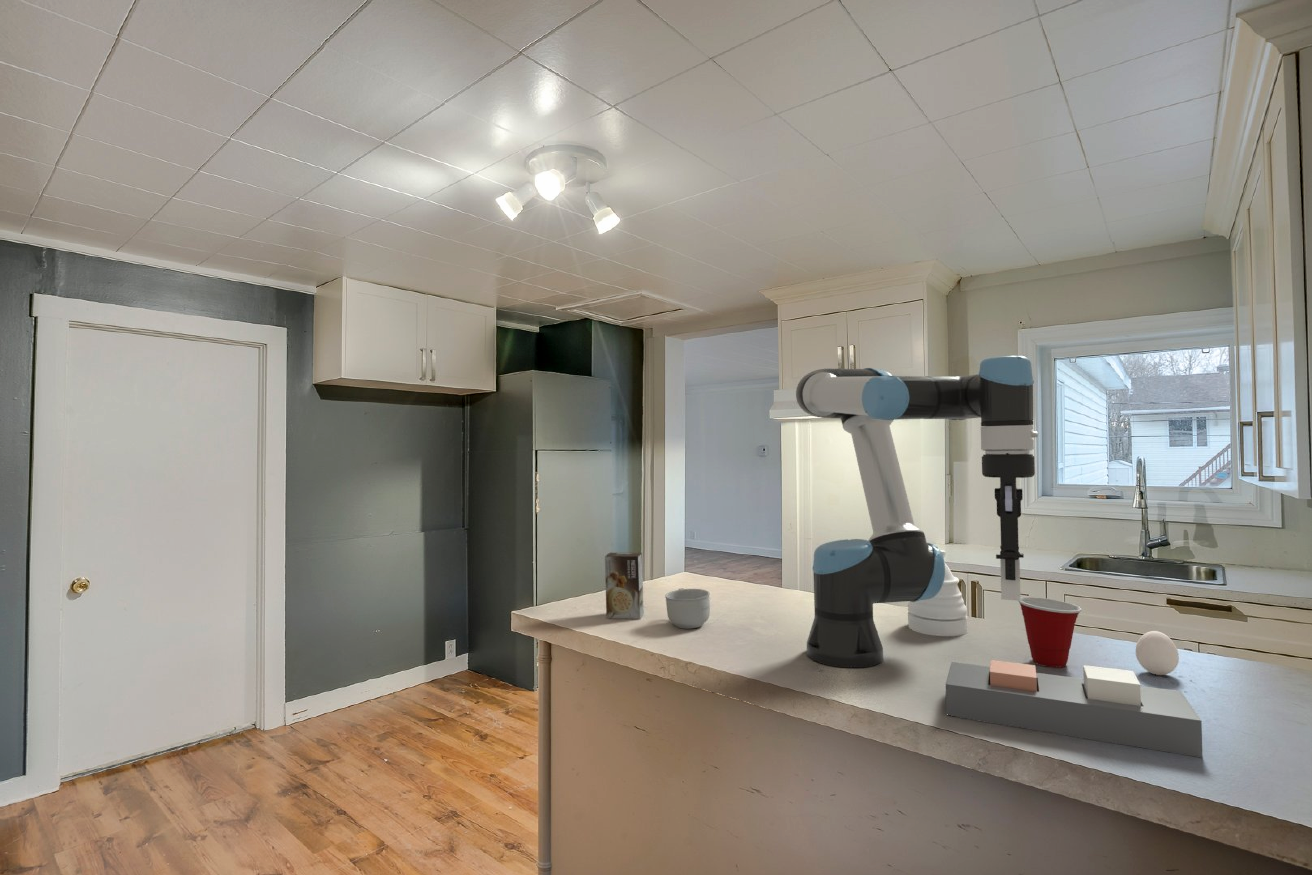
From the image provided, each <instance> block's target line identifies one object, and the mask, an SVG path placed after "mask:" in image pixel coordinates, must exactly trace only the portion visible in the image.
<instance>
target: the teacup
mask: <svg viewBox="0 0 1312 875" xmlns="http://www.w3.org/2000/svg"><path fill="white" fill-rule="evenodd" d="M710 595H711V594H710V592H709V591H708V590H706V589H701V588H682V587H680V588H678V589H676V590H672V591H669V592H667V593H666V594H665V595H664V596H665V603H666V604H665V605H666V612H667V613H666V614H667V618H668V620H669V622H670V623H671V624H672V625H674V626H675V627H677V628H678V629H685V630H687V629H689V630H690V629H696V628H700V627H702V626H703V625H704V624H705V623H706V622H707V621H708V620H709V618H710V614H711V611H710V610H711V604H710Z"/></svg>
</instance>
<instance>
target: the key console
mask: <svg viewBox="0 0 1312 875" xmlns="http://www.w3.org/2000/svg"><path fill="white" fill-rule="evenodd" d="M1036 677H1037V692H1036V691H1029V690H1022V689H1015V688H1008V687H1001V686H993V685H990V666H987V665H980V664H972V663H964V662H957V661H955V662H954V661H951V662H950V665H949V670H948V673H947V676H946V681H945V710H946V711H945V713H946V714H948V715H951V716H950V717H952V716H956V717H955V718H958V717H959V718H960V719H964V718H967V719H966V720H971V719H972V720H971V721H977V720H980V721H979V722H983V721H985V722H984V723H989V724H995V723H997V724H996V725H1001V724H1002V725H1001V726H1007V725H1008V727H1013V728H1019V727H1021V728H1020V729H1025V728H1026V729H1027V730H1033V731H1039V732H1044V731H1046V732H1045V733H1050V732H1053V733H1052V734H1056V733H1057V735H1063V736H1068V737H1076V738H1083V739H1087V740H1092V741H1093V740H1094V741H1098V742H1099V741H1100V742H1104V743H1105V742H1106V743H1111V744H1116V745H1123V746H1128V747H1129V746H1130V747H1134V748H1141V749H1148V750H1153V751H1154V750H1155V751H1160V752H1165V753H1166V752H1167V753H1173V754H1177V755H1179V754H1180V755H1183V756H1190V757H1197V758H1203V756H1204V755H1203V730H1202V729H1203V727H1202V726H1203V724H1202V719H1201V717H1200V716H1199V715H1198V713H1197V712H1196V711H1195V709H1194V708H1193V707H1192V704H1191V703H1190V701H1188V698H1187V697H1186V696H1185V695H1184V694H1183V692H1182V691H1181V690H1175V689H1167V688H1159V687H1158V688H1157V687H1150V686H1144V685H1143V686H1142V685H1140V692H1141V706H1136V705H1129V704H1122V703H1115V702H1108V701H1101V700H1093V699H1086V696H1085V692H1084V678H1082V677H1081V678H1080V677H1072V676H1066V675H1065V676H1064V675H1057V674H1050V673H1043V672H1042V673H1041V672H1036ZM946 714H945V715H946Z"/></svg>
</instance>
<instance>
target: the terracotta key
mask: <svg viewBox="0 0 1312 875" xmlns="http://www.w3.org/2000/svg"><path fill="white" fill-rule="evenodd" d="M989 667H990V685H993V686H1001V687H1008V688H1015V689H1022V690H1029V691H1036V692H1037V677H1036V673H1037V670H1036V668H1037V667H1036V665H1035V664H1026V663H1021V662H1020V663H1019V662H1012V661H1011V662H1010V661H1002V660H994V659H991V660H990V666H989Z"/></svg>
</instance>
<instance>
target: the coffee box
mask: <svg viewBox="0 0 1312 875" xmlns="http://www.w3.org/2000/svg"><path fill="white" fill-rule="evenodd" d="M604 573H605V574H604V575H605V576H604V577H605V578H604V579H605V608H606V610H605V611H606V612H605V613H606V617H605V618H606V619H617V620H618V619H620V620H621V619H623V620H624V619H625V620H626V619H628V620H629V619H630V620H631V619H633V620H641V619H642V617H643V616H644V614H645V609H644V607H645V606H644V583H643V582H644V578H643V574H644V571H643V552H609V553H607V554H606V555H605V556H604Z"/></svg>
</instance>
